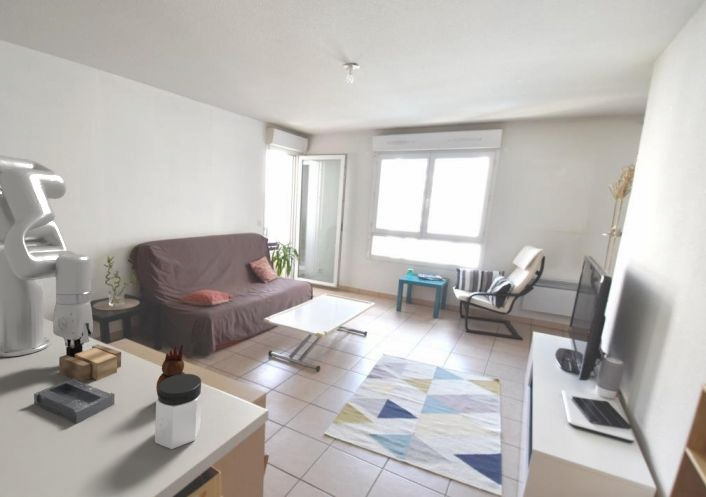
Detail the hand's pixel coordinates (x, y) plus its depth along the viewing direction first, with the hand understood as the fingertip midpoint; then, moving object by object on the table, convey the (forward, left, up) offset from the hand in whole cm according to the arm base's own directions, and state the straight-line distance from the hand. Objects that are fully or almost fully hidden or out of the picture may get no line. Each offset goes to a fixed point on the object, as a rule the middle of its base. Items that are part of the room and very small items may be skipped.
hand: (74, 358), depth 93 cm
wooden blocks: (+7, 0, -2) cm, 7 cm away
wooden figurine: (+38, -1, -2) cm, 38 cm away
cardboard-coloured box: (+9, 0, -2) cm, 9 cm away
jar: (+49, -9, -2) cm, 50 cm away
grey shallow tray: (+20, -12, -2) cm, 23 cm away
